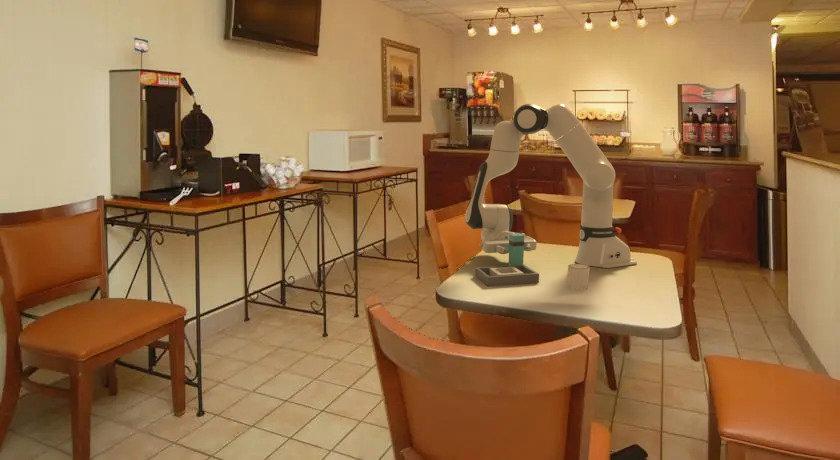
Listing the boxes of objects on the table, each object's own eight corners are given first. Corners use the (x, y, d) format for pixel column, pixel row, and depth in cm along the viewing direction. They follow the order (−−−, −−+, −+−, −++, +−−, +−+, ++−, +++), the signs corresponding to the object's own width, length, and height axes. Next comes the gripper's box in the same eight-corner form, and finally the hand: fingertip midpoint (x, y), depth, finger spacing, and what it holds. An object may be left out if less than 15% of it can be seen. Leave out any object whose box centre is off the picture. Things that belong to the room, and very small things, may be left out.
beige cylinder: (590, 290, 178) (591, 269, 177) (567, 289, 179) (568, 268, 178) (588, 284, 184) (589, 263, 183) (566, 283, 186) (567, 263, 185)
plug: (518, 267, 206) (519, 233, 204) (523, 270, 202) (524, 235, 200) (508, 268, 205) (509, 233, 203) (512, 271, 201) (513, 236, 199)
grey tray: (523, 272, 200) (523, 264, 199) (538, 282, 187) (539, 273, 187) (475, 275, 196) (475, 267, 195) (487, 286, 183) (487, 277, 183)
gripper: (477, 235, 212) (489, 242, 199) (527, 232, 217) (543, 239, 204) (477, 251, 214) (489, 260, 200) (527, 248, 218) (542, 256, 205)
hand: (516, 249), depth 202 cm, fingers open, 8 cm apart
